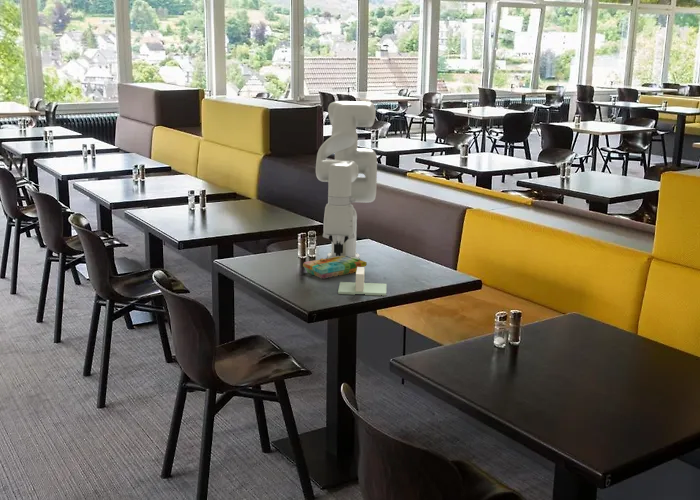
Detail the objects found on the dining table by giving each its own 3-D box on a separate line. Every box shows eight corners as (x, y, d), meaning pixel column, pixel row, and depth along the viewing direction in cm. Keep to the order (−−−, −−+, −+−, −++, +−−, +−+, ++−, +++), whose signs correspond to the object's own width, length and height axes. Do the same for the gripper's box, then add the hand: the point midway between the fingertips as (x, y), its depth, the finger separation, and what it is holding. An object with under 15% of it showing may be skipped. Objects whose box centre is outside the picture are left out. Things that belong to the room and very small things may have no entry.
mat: (340, 284, 273) (340, 281, 272) (386, 285, 272) (386, 283, 272) (337, 293, 262) (337, 291, 262) (386, 295, 261) (386, 293, 261)
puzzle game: (303, 260, 285) (347, 253, 297) (303, 273, 286) (346, 265, 298) (322, 267, 276) (366, 259, 288) (321, 280, 277) (366, 272, 289)
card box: (356, 283, 271) (356, 266, 270) (364, 283, 271) (364, 267, 269) (355, 291, 262) (355, 274, 261) (363, 291, 262) (363, 274, 261)
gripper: (362, 199, 263) (361, 253, 267) (317, 198, 264) (317, 251, 268) (361, 203, 256) (360, 258, 260) (315, 202, 256) (315, 257, 261)
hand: (338, 255), depth 264 cm, fingers closed
